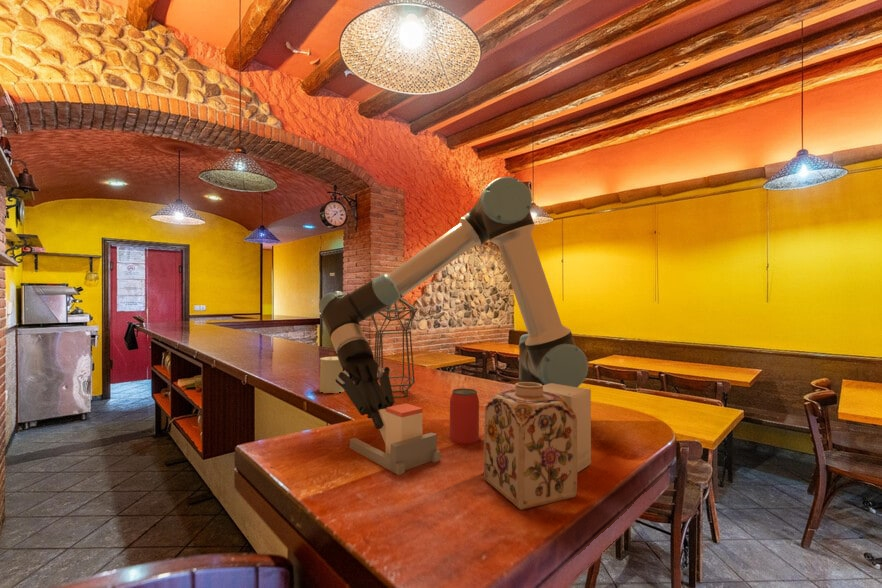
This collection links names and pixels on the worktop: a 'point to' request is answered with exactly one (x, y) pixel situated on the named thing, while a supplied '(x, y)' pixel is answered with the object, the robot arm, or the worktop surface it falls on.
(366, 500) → the worktop surface
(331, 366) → the can
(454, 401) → the beer can
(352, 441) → the grey tray
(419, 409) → the block
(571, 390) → the supplement box
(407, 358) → the geometric lantern
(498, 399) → the decorative jar
